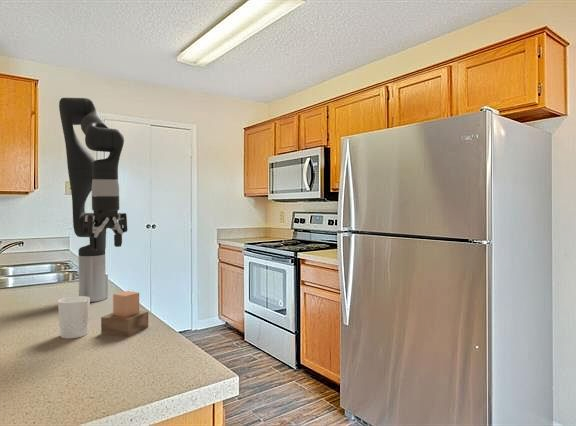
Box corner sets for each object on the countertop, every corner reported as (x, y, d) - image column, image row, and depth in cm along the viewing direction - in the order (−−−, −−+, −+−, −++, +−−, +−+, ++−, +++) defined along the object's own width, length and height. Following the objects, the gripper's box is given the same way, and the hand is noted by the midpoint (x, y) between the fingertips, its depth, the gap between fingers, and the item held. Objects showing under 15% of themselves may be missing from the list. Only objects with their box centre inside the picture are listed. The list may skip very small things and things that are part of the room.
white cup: (96, 332, 113) (96, 297, 112) (73, 341, 105) (73, 303, 105) (75, 329, 115) (75, 295, 115) (51, 337, 108) (51, 301, 108)
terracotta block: (128, 310, 118) (127, 290, 118) (139, 313, 115) (139, 292, 115) (113, 314, 113) (113, 294, 113) (124, 317, 111) (124, 296, 111)
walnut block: (122, 325, 120) (122, 309, 120) (148, 328, 117) (148, 311, 117) (101, 334, 111) (101, 317, 111) (128, 337, 109) (128, 319, 109)
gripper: (115, 194, 127) (116, 244, 127) (75, 194, 114) (76, 250, 114) (133, 194, 124) (133, 246, 124) (94, 195, 111) (95, 252, 111)
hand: (106, 248), depth 119 cm, fingers open, 8 cm apart
